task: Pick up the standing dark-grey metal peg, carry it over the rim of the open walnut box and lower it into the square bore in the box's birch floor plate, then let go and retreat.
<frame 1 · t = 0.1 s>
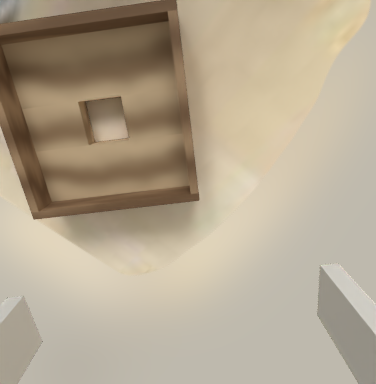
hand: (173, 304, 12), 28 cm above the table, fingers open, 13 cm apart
box: (109, 119, 36), on the table
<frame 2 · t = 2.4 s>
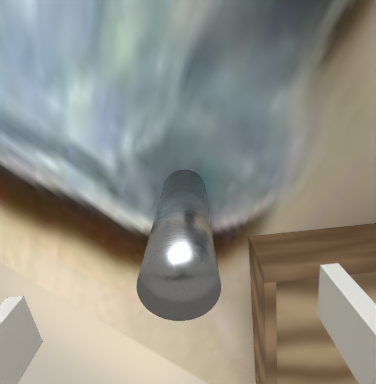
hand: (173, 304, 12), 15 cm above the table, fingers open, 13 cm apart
peg: (184, 189, 26), on the table
box: (347, 309, 31), on the table
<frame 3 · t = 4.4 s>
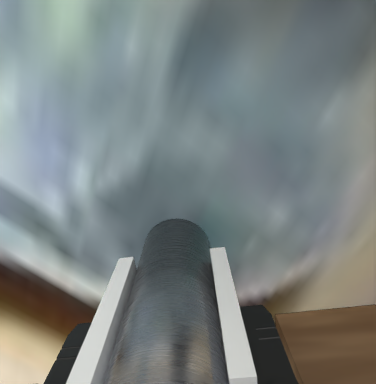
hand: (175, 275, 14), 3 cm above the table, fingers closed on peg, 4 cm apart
peg: (177, 248, 16), on the table, touching gripper
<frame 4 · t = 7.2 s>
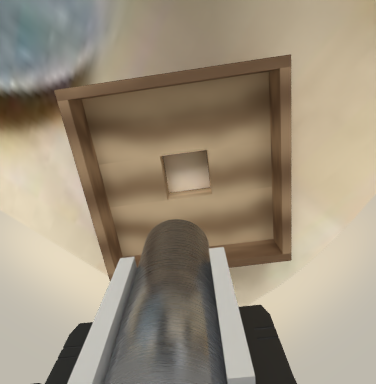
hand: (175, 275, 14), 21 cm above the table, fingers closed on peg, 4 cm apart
peg: (176, 248, 16), point 18 cm above the table, touching gripper
box: (186, 170, 33), on the table
when the fingers open (4 cm above the table, at t = 10.1 s): peg stays where it is, resting in box.
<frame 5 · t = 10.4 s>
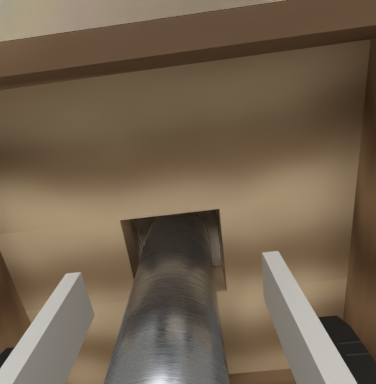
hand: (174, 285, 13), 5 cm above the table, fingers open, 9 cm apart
peg: (177, 236, 18), resting in box
box: (177, 236, 18), on the table
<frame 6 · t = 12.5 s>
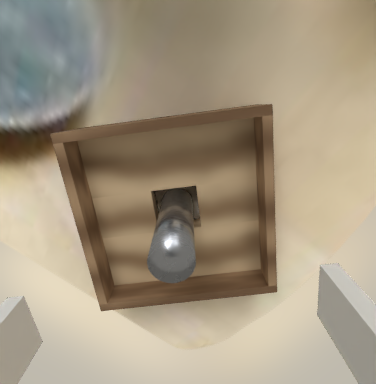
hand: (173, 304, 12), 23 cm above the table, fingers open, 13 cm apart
peg: (177, 202, 35), resting in box
box: (177, 202, 35), on the table
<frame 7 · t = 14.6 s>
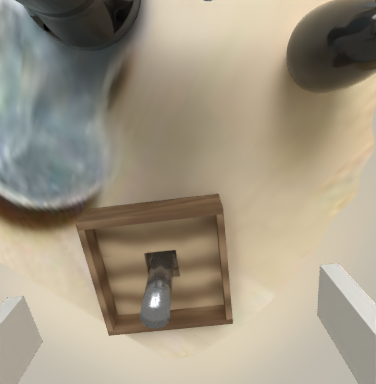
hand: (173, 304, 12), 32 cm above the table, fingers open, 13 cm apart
peg: (163, 256, 48), resting in box
box: (163, 256, 48), on the table
pump dispenser: (313, 54, 37), on the table
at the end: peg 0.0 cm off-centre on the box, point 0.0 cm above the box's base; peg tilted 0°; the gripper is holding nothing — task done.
